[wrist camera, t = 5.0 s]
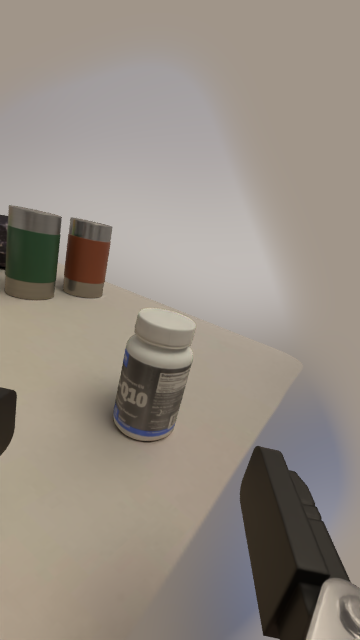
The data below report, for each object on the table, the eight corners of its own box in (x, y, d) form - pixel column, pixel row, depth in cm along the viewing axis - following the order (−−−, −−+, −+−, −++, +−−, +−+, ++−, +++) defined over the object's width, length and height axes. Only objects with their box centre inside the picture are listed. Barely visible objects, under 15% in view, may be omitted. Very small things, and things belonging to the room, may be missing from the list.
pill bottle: (101, 409, 22) (119, 305, 19) (152, 397, 25) (173, 305, 22) (132, 452, 18) (158, 333, 16) (186, 432, 22) (216, 329, 19)
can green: (61, 293, 47) (69, 217, 43) (40, 303, 40) (48, 215, 37) (21, 284, 47) (26, 207, 43) (-7, 292, 40) (-4, 203, 37)
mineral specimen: (10, 266, 49) (-8, 204, 47) (-32, 275, 52) (-51, 218, 50) (51, 262, 58) (37, 210, 56) (12, 270, 61) (-2, 222, 59)
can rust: (107, 292, 54) (117, 227, 50) (95, 300, 47) (106, 226, 44) (72, 284, 54) (79, 218, 50) (55, 291, 47) (63, 216, 44)
